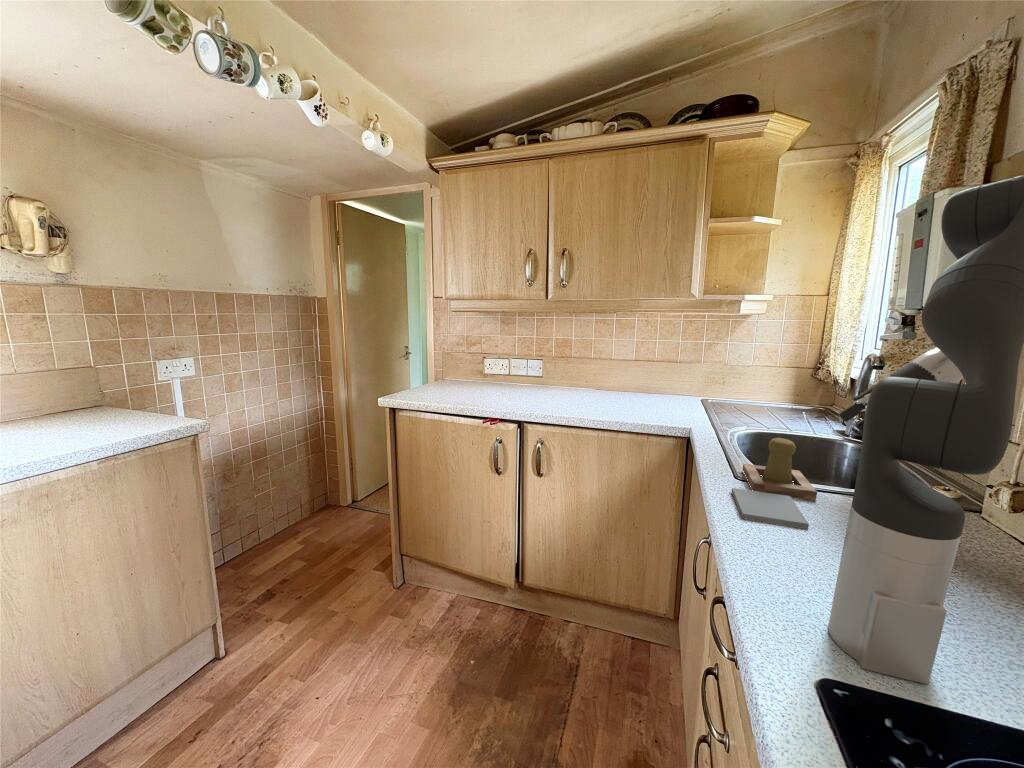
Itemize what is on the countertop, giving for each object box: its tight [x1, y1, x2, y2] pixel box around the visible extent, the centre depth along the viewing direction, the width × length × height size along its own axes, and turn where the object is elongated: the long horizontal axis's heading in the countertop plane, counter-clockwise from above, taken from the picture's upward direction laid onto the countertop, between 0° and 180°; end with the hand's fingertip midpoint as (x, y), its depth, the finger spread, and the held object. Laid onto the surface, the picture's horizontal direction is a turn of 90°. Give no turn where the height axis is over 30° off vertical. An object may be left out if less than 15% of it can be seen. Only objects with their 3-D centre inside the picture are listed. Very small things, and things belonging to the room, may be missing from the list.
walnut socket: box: [742, 463, 818, 501], centre depth 96 cm, size 12×12×2 cm
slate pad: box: [731, 487, 810, 530], centre depth 84 cm, size 12×11×1 cm
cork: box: [761, 437, 797, 485], centre depth 95 cm, size 6×6×11 cm
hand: (849, 423), depth 89 cm, fingers open, 8 cm apart
